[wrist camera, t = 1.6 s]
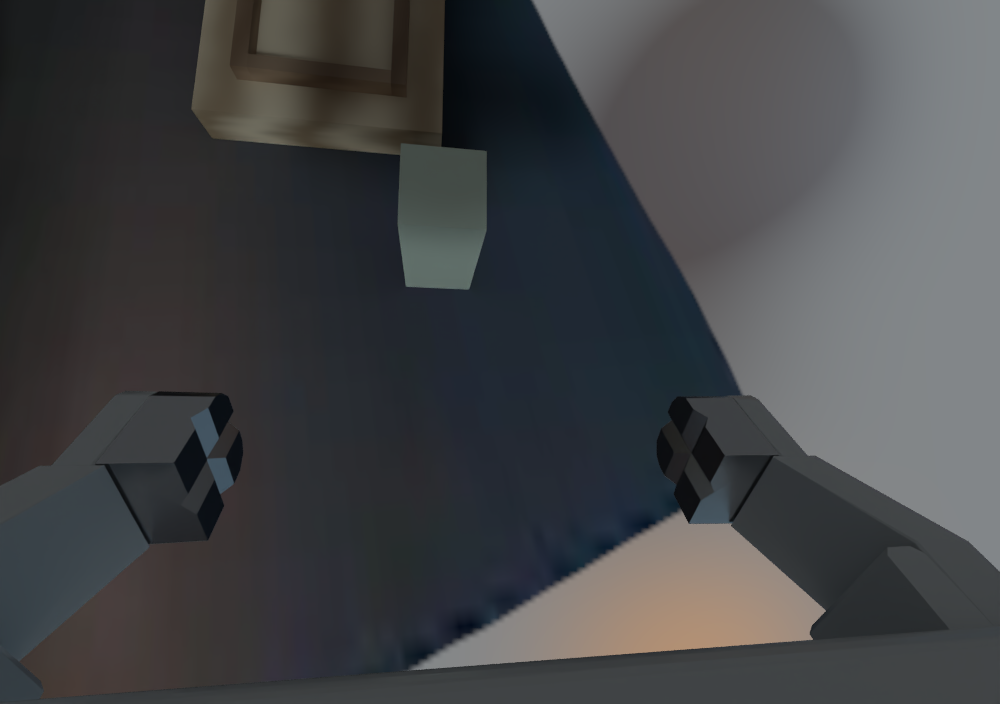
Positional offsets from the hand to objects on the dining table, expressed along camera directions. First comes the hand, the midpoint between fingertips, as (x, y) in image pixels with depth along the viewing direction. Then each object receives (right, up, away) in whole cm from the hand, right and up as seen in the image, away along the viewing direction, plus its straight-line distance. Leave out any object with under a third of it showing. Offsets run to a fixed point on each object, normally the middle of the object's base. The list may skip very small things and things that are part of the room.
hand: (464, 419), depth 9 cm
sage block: (-4, +8, +25) cm, 27 cm away
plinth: (-12, +24, +27) cm, 38 cm away
